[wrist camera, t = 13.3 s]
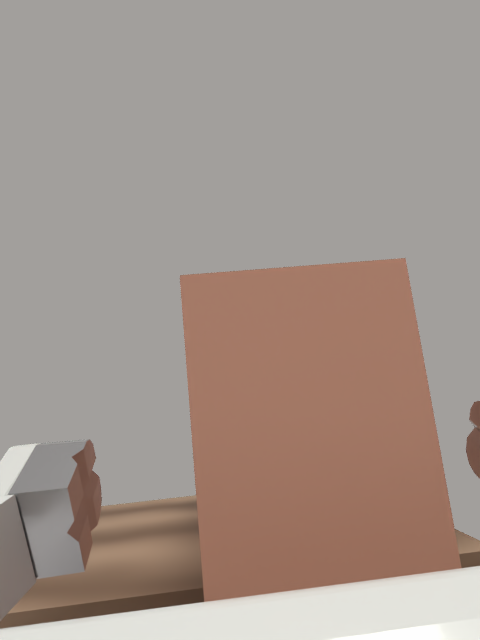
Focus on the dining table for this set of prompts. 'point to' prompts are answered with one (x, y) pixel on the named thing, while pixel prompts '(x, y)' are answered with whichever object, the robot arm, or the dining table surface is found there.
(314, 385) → the salmon pink rectangular block
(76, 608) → the bookshelf
